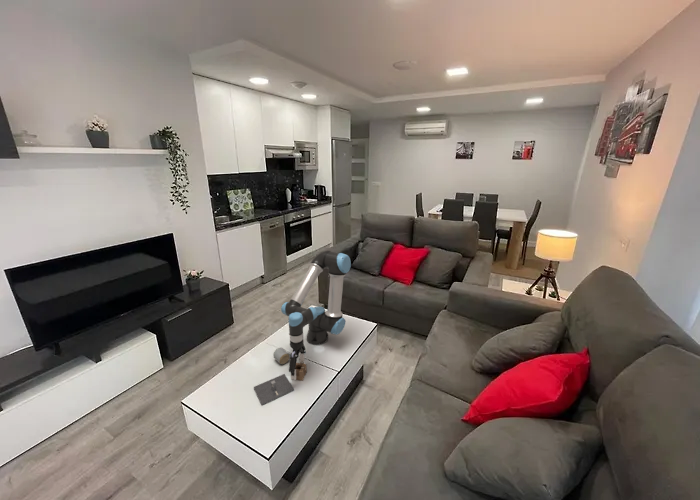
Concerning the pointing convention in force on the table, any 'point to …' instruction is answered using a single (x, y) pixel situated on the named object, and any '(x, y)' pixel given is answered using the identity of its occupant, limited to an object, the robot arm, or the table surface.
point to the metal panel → (273, 389)
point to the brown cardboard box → (300, 371)
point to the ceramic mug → (281, 355)
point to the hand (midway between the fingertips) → (298, 370)
